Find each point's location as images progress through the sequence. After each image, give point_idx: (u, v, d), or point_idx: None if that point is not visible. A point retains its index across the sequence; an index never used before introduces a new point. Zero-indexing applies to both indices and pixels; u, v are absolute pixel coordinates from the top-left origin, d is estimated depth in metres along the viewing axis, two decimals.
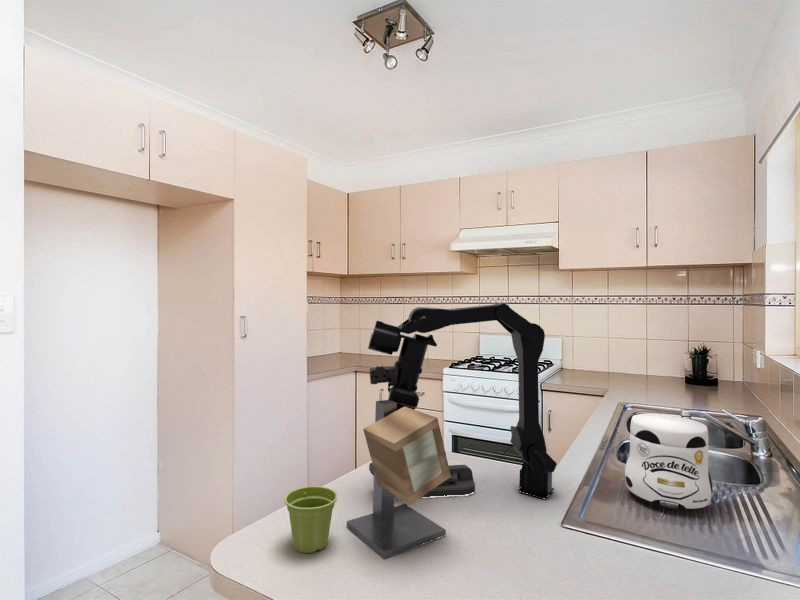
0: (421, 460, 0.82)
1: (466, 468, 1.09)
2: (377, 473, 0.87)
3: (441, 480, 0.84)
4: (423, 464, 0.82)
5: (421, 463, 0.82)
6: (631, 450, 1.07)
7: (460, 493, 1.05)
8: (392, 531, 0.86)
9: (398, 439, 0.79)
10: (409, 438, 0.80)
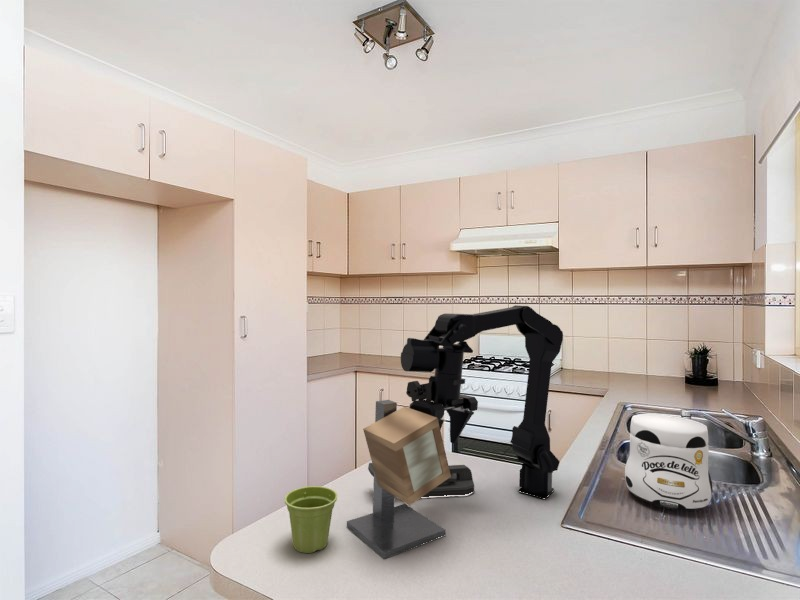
0: (421, 460, 0.82)
1: (465, 468, 1.08)
2: (377, 473, 0.87)
3: (441, 480, 0.84)
4: (423, 464, 0.82)
5: (421, 463, 0.82)
6: (631, 450, 1.07)
7: (459, 493, 1.05)
8: (392, 531, 0.86)
9: (398, 439, 0.79)
10: (409, 438, 0.80)
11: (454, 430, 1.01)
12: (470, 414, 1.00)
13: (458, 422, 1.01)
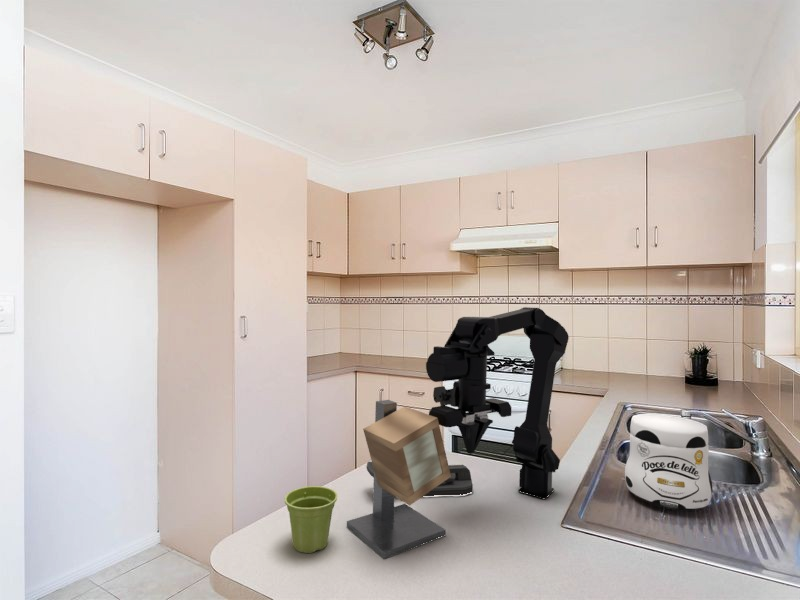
0: (421, 460, 0.82)
1: (464, 468, 1.08)
2: (377, 473, 0.87)
3: (441, 480, 0.84)
4: (423, 464, 0.82)
5: (421, 463, 0.82)
6: (631, 450, 1.07)
7: (457, 493, 1.05)
8: (392, 531, 0.86)
9: (398, 439, 0.79)
10: (409, 438, 0.80)
11: None
12: (487, 423, 0.94)
13: None
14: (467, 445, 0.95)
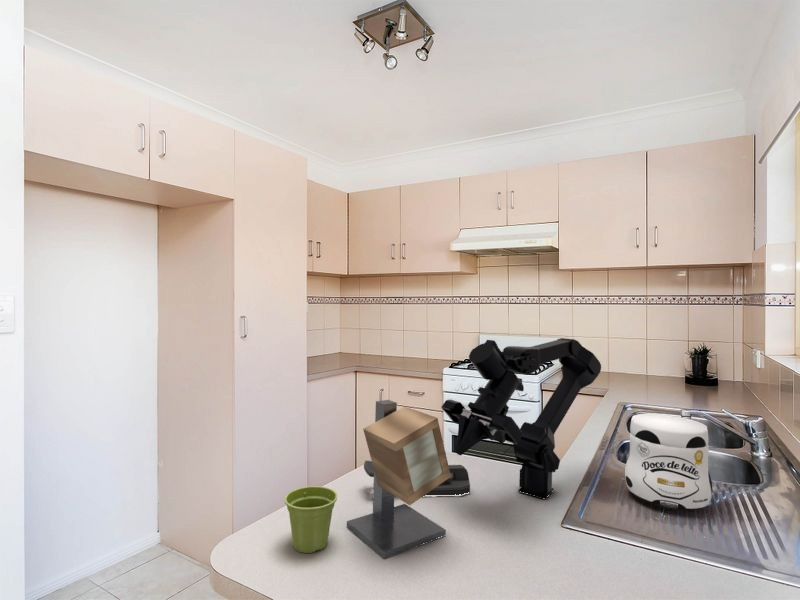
0: (421, 460, 0.82)
1: (461, 468, 1.08)
2: (377, 473, 0.87)
3: (441, 480, 0.84)
4: (423, 464, 0.82)
5: (421, 463, 0.82)
6: (631, 450, 1.07)
7: (454, 493, 1.05)
8: (392, 531, 0.86)
9: (398, 439, 0.79)
10: (409, 438, 0.80)
11: None
12: (473, 420, 0.93)
13: None
14: None
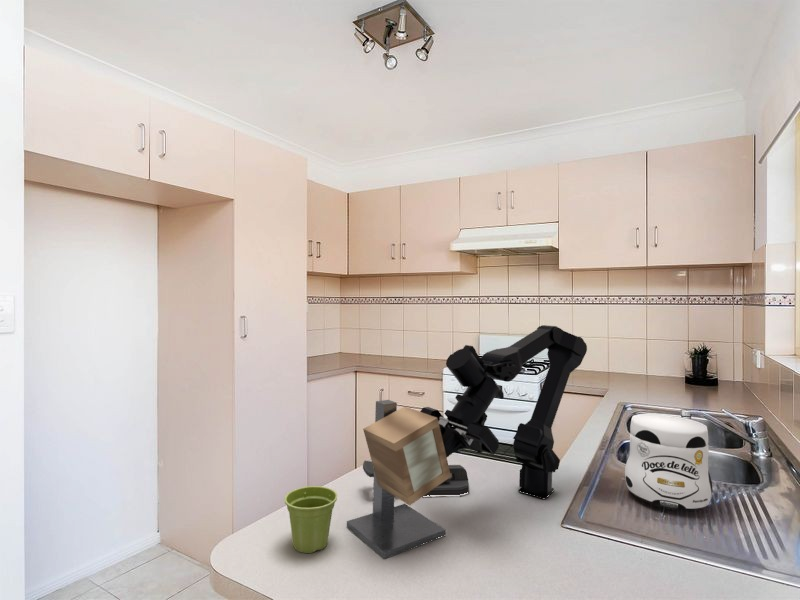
0: (421, 460, 0.82)
1: (460, 468, 1.08)
2: (377, 473, 0.87)
3: (441, 480, 0.84)
4: (423, 464, 0.82)
5: (421, 463, 0.82)
6: (631, 450, 1.07)
7: (453, 493, 1.04)
8: (392, 531, 0.86)
9: (398, 439, 0.79)
10: (409, 438, 0.80)
11: None
12: (449, 429, 0.90)
13: None
14: None
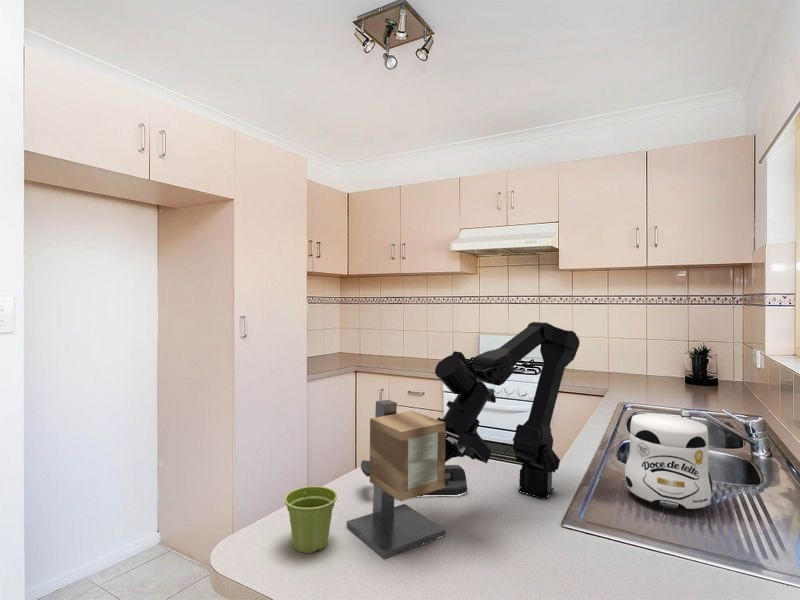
0: (421, 460, 0.82)
1: (459, 468, 1.08)
2: (372, 467, 0.86)
3: (434, 488, 0.83)
4: (422, 464, 0.82)
5: (420, 463, 0.82)
6: (631, 450, 1.07)
7: (451, 493, 1.04)
8: (392, 531, 0.86)
9: (405, 429, 0.80)
10: (415, 432, 0.80)
11: None
12: None
13: None
14: None
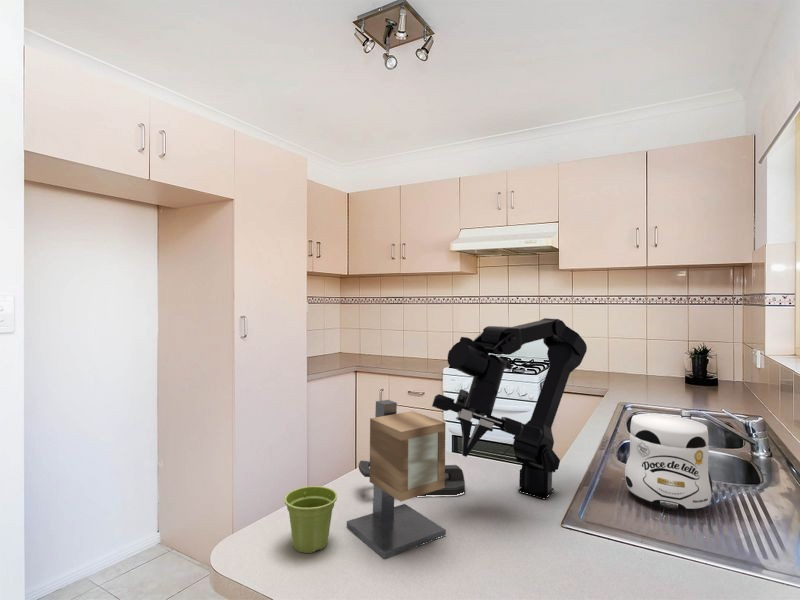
0: (421, 460, 0.82)
1: (457, 468, 1.08)
2: (372, 467, 0.86)
3: (434, 488, 0.83)
4: (422, 464, 0.82)
5: (420, 463, 0.82)
6: (631, 450, 1.07)
7: (449, 493, 1.04)
8: (392, 531, 0.86)
9: (406, 429, 0.80)
10: (415, 432, 0.80)
11: (469, 443, 0.95)
12: (483, 427, 0.93)
13: (473, 434, 0.94)
14: (462, 446, 0.95)
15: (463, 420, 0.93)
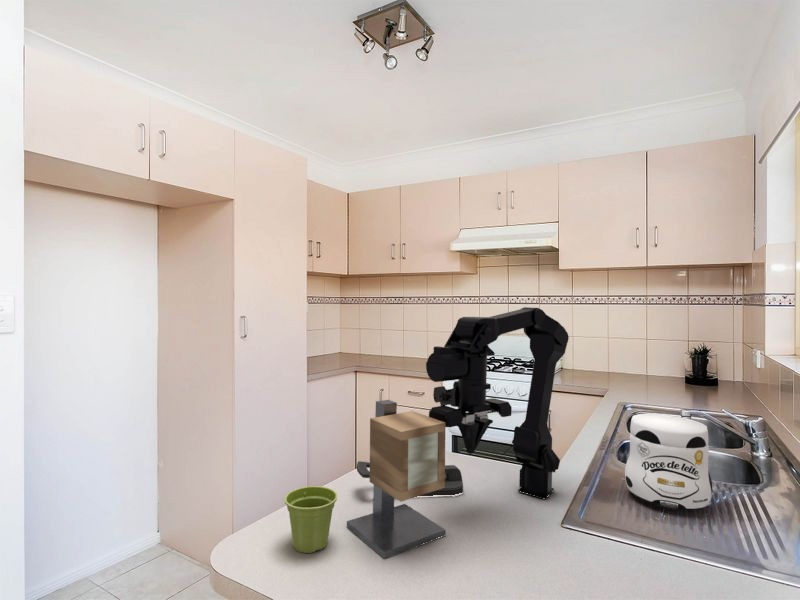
0: (421, 460, 0.82)
1: (455, 469, 1.08)
2: (372, 467, 0.86)
3: (434, 488, 0.83)
4: (422, 464, 0.82)
5: (420, 463, 0.82)
6: (631, 450, 1.07)
7: (447, 494, 1.04)
8: (392, 531, 0.86)
9: (406, 429, 0.80)
10: (415, 432, 0.80)
11: None
12: (487, 423, 0.94)
13: None
14: (467, 445, 0.95)
15: (472, 426, 0.91)
